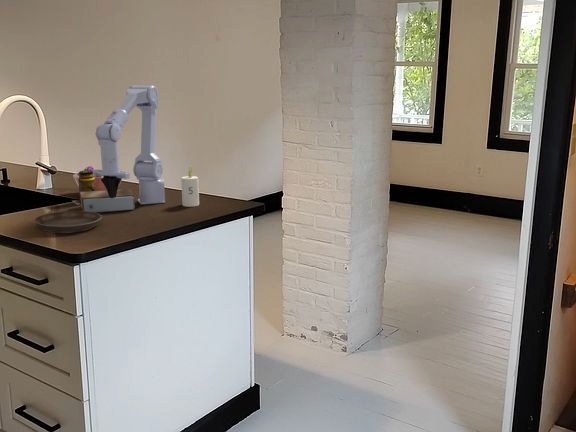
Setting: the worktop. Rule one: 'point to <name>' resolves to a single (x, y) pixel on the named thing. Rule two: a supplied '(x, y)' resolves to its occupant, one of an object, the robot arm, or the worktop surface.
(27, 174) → the worktop surface
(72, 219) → the plant saucer
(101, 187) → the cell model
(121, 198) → the door
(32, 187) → the worktop surface
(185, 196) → the candle
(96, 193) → the cabinet
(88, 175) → the condiment
